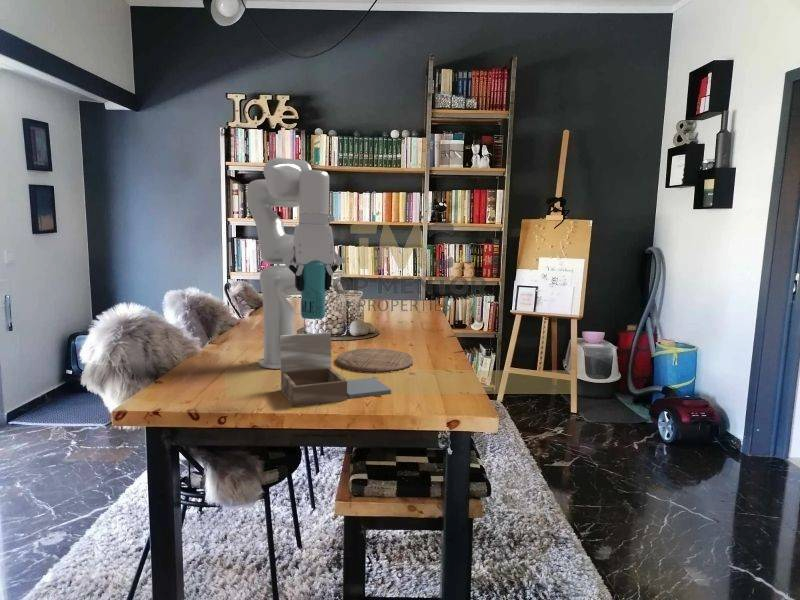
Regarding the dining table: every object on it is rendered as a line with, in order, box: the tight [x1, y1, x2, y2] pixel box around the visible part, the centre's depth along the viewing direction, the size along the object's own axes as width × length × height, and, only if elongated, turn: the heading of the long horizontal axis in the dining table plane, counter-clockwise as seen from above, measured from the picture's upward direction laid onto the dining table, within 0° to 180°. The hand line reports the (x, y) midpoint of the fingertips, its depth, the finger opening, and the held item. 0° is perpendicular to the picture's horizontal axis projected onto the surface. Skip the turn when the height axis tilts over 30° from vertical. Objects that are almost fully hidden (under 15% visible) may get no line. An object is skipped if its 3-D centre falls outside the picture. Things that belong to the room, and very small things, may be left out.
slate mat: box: [346, 377, 392, 399], centre depth 146 cm, size 12×12×1 cm
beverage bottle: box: [300, 260, 327, 320], centre depth 136 cm, size 6×7×20 cm
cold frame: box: [280, 331, 348, 407], centre depth 139 cm, size 15×14×15 cm
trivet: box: [336, 348, 414, 374], centre depth 174 cm, size 25×25×2 cm
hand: (313, 289), depth 136 cm, fingers closed on beverage bottle, 6 cm apart
